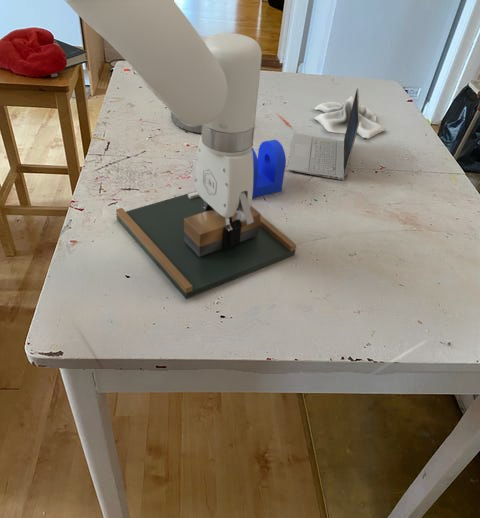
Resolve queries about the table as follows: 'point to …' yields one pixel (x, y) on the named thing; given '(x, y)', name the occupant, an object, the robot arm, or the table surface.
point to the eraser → (214, 231)
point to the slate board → (185, 259)
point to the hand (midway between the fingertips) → (221, 236)
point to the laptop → (325, 150)
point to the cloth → (347, 118)
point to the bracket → (268, 168)
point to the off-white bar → (193, 195)
